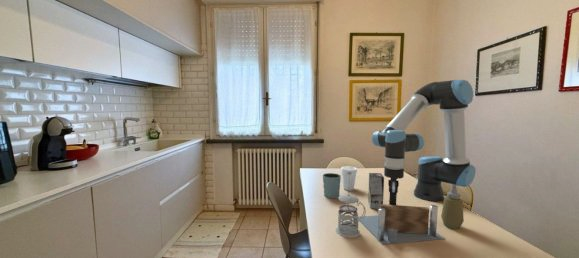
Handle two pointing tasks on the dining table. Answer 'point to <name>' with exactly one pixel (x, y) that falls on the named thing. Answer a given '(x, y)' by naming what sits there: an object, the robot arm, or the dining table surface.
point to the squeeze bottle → (452, 209)
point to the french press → (348, 216)
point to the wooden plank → (406, 218)
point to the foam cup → (348, 177)
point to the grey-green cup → (331, 185)
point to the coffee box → (375, 190)
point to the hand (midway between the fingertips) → (391, 221)
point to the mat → (402, 237)
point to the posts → (393, 231)
